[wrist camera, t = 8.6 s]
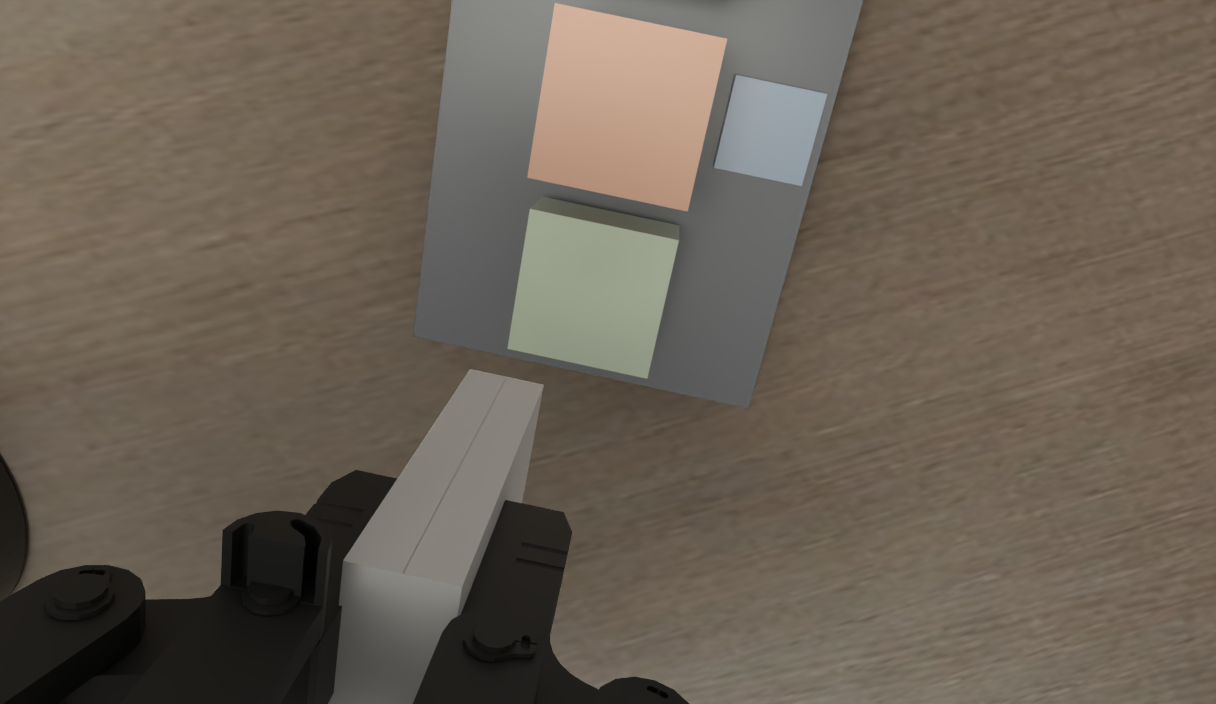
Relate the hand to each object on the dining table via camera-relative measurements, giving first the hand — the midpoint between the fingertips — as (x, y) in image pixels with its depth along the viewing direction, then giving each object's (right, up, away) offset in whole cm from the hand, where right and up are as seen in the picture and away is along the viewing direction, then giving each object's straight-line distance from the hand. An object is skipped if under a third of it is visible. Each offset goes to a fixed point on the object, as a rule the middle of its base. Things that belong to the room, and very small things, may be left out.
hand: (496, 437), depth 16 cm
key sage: (+2, +5, +15) cm, 16 cm away
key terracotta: (+3, +10, +11) cm, 15 cm away
